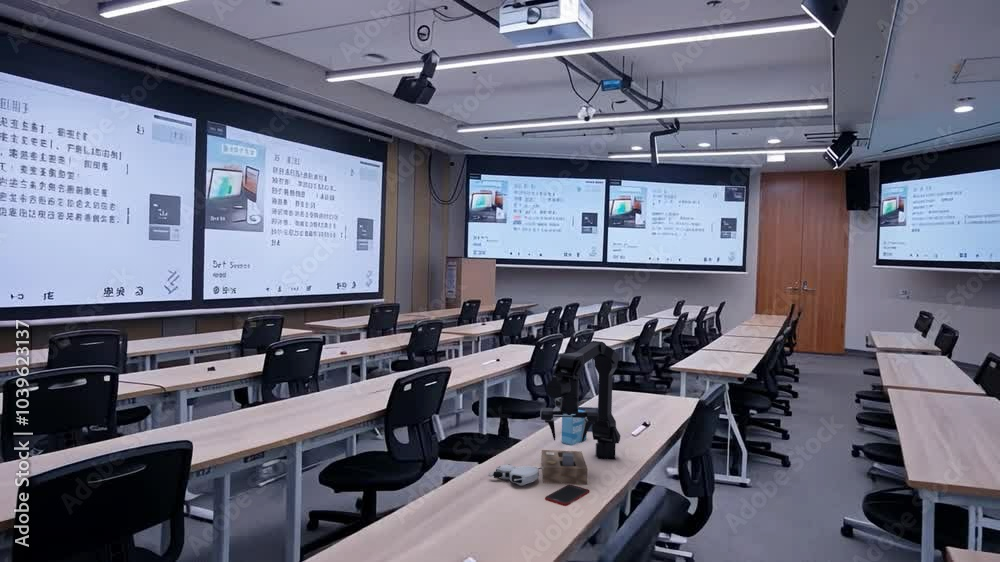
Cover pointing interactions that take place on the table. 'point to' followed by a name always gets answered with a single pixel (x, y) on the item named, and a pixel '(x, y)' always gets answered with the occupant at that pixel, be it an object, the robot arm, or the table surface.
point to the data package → (572, 429)
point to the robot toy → (517, 474)
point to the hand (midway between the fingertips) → (568, 440)
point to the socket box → (563, 468)
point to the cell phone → (567, 495)
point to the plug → (567, 459)
